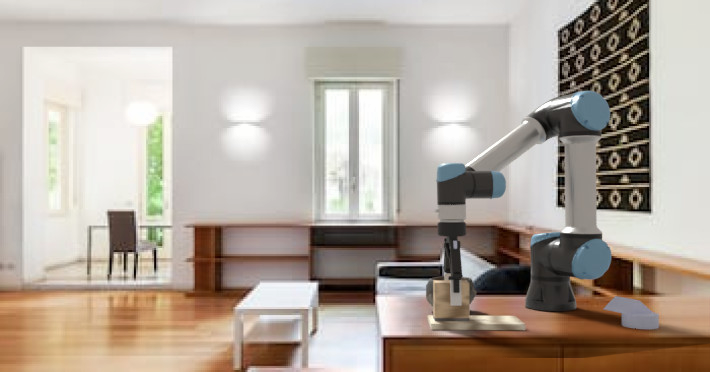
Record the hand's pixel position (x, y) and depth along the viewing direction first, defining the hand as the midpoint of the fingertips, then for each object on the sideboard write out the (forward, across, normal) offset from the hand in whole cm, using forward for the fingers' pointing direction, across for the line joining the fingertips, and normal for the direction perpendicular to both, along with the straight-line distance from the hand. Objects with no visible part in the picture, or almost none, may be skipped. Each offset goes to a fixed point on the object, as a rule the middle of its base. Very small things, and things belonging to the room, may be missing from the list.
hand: (452, 301), depth 167 cm
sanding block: (+5, 0, 0) cm, 5 cm away
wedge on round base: (+7, -3, +49) cm, 49 cm away
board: (+6, 0, +6) cm, 9 cm away
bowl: (+7, -21, +2) cm, 22 cm away
